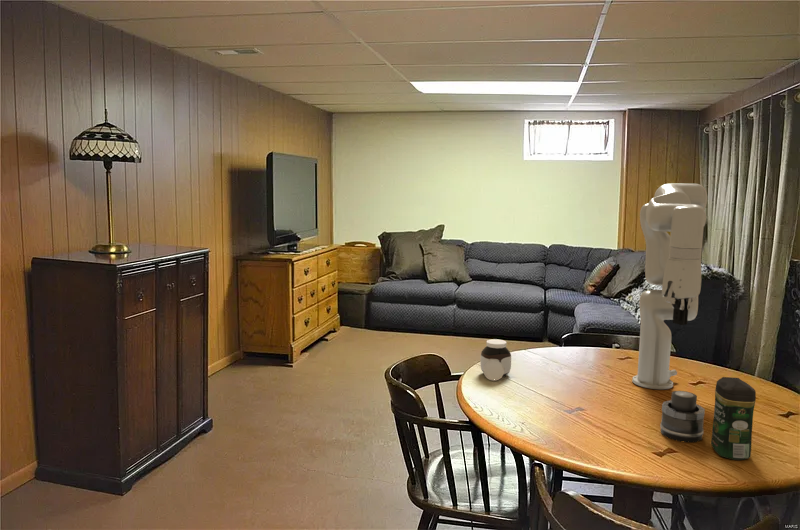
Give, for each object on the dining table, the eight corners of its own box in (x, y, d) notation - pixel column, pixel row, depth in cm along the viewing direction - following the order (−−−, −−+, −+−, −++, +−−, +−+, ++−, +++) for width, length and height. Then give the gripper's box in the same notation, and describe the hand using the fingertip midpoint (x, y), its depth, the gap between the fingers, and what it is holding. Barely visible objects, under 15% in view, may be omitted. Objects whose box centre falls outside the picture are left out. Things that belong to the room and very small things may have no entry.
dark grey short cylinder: (680, 407, 166) (681, 388, 165) (700, 414, 161) (701, 395, 160) (665, 411, 163) (666, 392, 162) (685, 418, 158) (687, 399, 157)
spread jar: (502, 369, 217) (503, 337, 216) (519, 379, 207) (520, 346, 205) (472, 373, 213) (473, 340, 212) (487, 383, 203) (488, 349, 201)
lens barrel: (677, 424, 170) (679, 397, 169) (711, 438, 161) (714, 410, 160) (651, 431, 165) (653, 403, 164) (685, 445, 156) (687, 417, 155)
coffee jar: (706, 443, 157) (712, 373, 155) (739, 445, 156) (745, 375, 154) (719, 460, 148) (725, 386, 145) (754, 463, 147) (762, 388, 144)
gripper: (690, 251, 165) (685, 317, 167) (653, 254, 157) (648, 323, 160) (716, 254, 158) (710, 323, 161) (679, 257, 151) (673, 330, 154)
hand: (679, 323), depth 161 cm, fingers closed
